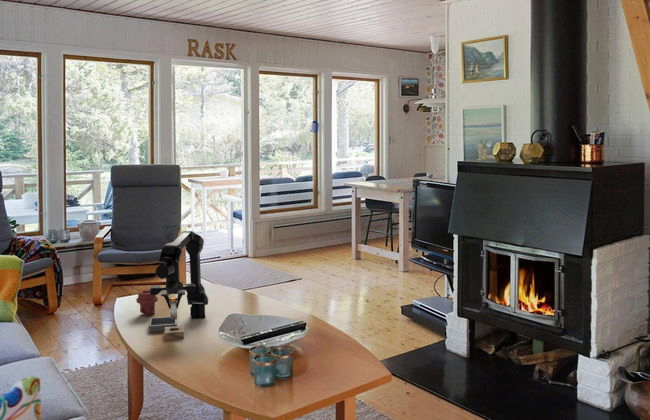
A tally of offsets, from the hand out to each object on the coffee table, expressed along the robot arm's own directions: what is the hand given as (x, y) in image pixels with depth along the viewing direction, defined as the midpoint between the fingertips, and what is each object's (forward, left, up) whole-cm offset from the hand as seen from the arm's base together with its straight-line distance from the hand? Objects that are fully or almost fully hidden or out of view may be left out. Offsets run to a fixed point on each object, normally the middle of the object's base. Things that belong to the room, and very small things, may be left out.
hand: (173, 308), depth 257 cm
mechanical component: (+13, -35, -13) cm, 39 cm away
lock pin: (0, 0, -4) cm, 4 cm away
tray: (+5, -13, -12) cm, 19 cm away
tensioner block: (0, 0, -12) cm, 12 cm away
